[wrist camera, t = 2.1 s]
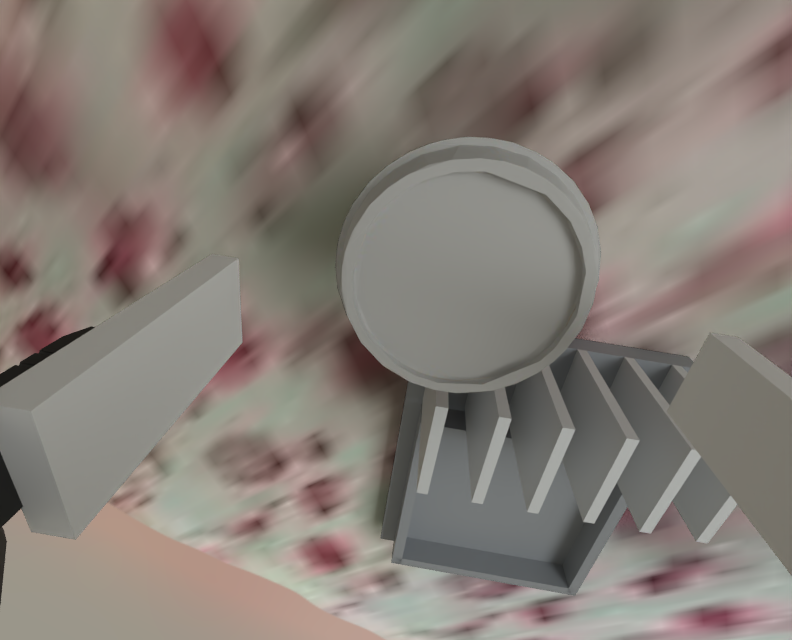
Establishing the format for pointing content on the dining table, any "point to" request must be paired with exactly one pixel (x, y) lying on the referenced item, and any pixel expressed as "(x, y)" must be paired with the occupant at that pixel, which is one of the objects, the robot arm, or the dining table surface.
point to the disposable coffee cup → (468, 264)
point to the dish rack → (546, 469)
